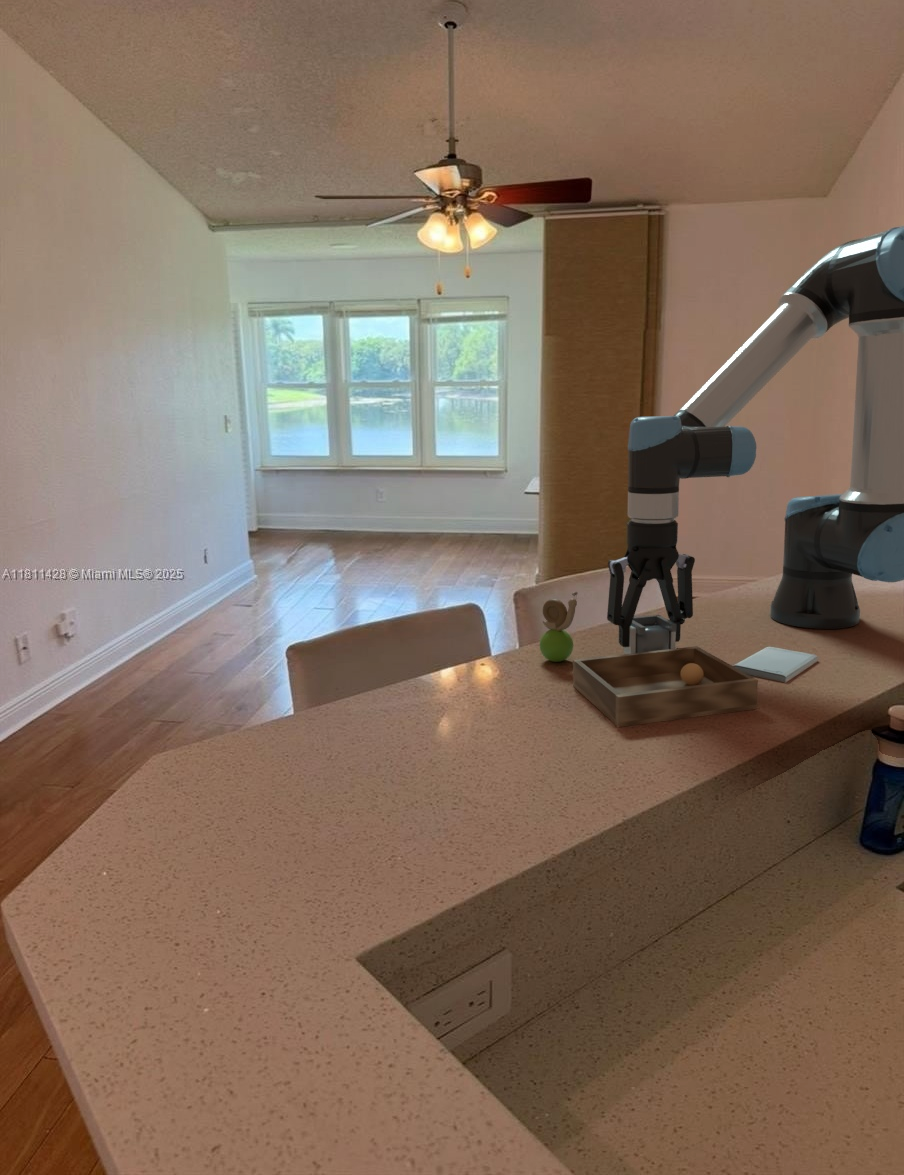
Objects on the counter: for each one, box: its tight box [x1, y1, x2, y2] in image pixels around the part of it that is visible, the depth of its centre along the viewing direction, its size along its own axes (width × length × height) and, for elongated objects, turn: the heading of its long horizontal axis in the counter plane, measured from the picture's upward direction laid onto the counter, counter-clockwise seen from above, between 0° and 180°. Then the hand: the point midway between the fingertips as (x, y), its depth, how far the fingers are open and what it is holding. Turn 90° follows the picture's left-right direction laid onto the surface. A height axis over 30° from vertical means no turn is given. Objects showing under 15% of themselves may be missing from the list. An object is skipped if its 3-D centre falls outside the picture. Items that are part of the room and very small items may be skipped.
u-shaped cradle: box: [631, 613, 677, 653], centre depth 125 cm, size 6×6×7 cm
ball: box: [680, 663, 704, 685], centre depth 115 cm, size 3×3×3 cm
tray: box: [572, 645, 759, 728], centre depth 112 cm, size 20×16×4 cm
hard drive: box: [732, 646, 819, 683], centre depth 123 cm, size 2×8×12 cm
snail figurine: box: [539, 591, 578, 663], centre depth 128 cm, size 5×6×12 cm
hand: (648, 663), depth 126 cm, fingers closed on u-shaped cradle, 6 cm apart
